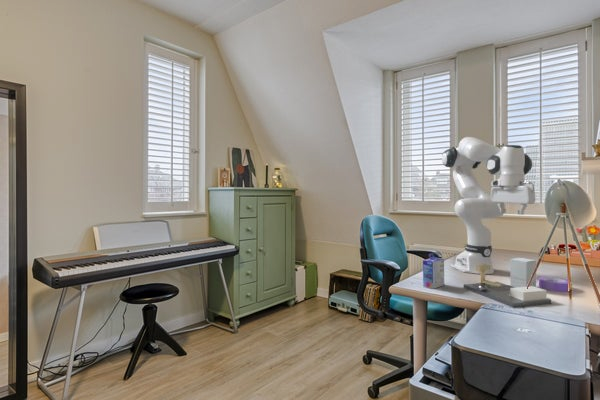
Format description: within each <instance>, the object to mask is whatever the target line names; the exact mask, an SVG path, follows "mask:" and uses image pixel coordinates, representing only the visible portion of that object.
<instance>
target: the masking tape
mask: <svg viewBox="0 0 600 400" xmlns="http://www.w3.org/2000/svg"><path fill="white" fill-rule="evenodd" d="M568 280H569V279H565V278H559V277H555V276H540V277H538V288H540V289H544V290H547V291H551V292H558V293H568Z"/></svg>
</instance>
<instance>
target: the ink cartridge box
mask: <svg viewBox="0 0 600 400" xmlns="http://www.w3.org/2000/svg"><path fill="white" fill-rule="evenodd" d="M422 276H423V277H422V282H423V285H422V286H423V287H424V288H427V289H433V290H434V289H438V288H439V287H442V286H445V259H444V258H441V257H440V258H439V257H435V254H434V253H432V252H431V253H429V254H428V258H427V259H424V260H422Z"/></svg>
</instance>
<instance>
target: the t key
mask: <svg viewBox="0 0 600 400" xmlns="http://www.w3.org/2000/svg"><path fill="white" fill-rule="evenodd" d="M490 268H491V265H489V264H482V265H476V271H481V274H480V283H481V286H485V283H486V284H490V285H494V286H501V284H500V283H501V282H500V283H496V282H497V281H492V280H487V279H486V274H485V270H490Z"/></svg>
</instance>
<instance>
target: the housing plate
mask: <svg viewBox="0 0 600 400" xmlns="http://www.w3.org/2000/svg"><path fill="white" fill-rule="evenodd" d="M495 282H496V283H500V284H501V286H494V285H490V284H486V283H485V286H481V282H478V283H477V282H475V283H467V284H465V283H464V284H463V289H465V290H467V291H470V292H473V293H476V294H478V295H481V296H483V297H486V298H488V299H491V300H492V301H496V302H497V303H498V302H499V303H500V304H502V305H505V306H509V307H511V308H521V307H530V306H539V305H540V306H541V305H551V304H552V299H551V298H549V297H546V298H541V299H531V300H521V299H519V298H516V297H513V296H510V288H516V287H513V286H510V284H509V285H508V284H505V283H503V282H499V281H495Z"/></svg>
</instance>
